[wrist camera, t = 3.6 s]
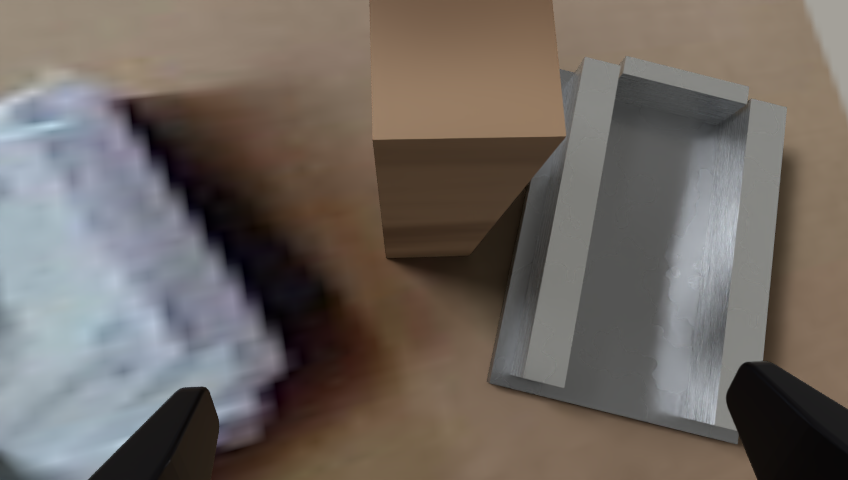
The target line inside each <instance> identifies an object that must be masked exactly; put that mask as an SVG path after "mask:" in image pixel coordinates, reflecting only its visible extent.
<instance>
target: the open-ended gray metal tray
mask: <svg viewBox="0 0 848 480" xmlns="http://www.w3.org/2000/svg"><path fill="white" fill-rule="evenodd" d="M559 70H560V80H561V90H562V99H563V109H564V118H565V128H566V137H565V139H564V140H563V141H562V142H561V144H560V145H559V146H558V147H557V148H556V150H555V151H554V152H553V153H552V155H551V156H550V157H549V158H548V159H547V161H546V162H545V163H544V164H543V166H542V167H541V168H540V169H539V171H538V172H537V173H536V174H535V175H534V177H533V178H532V179H531V180H530V182H529V183H528V185H527V190H526V195H525V200H524V205H523V209H522V214H521V219H520V224H519V229H518V233H517V238H516V243H515V248H514V253H513V258H512V262H511V267H510V272H509V277H508V282H507V286H506V291H505V296H504V301H503V306H502V311H501V315H500V320H499V325H498V330H497V335H496V339H495V344H494V349H493V354H492V359H491V364H490V368H489V373H488V378H487V382H488V383H491V384H495V385H499V386H503V387H508V388H512V389H516V390H520V391H524V392H528V393H532V394H536V395H540V396H544V397H548V398H552V399H556V400H560V401H564V402H568V403H572V404H576V405H580V406H584V407H588V408H592V409H596V410H600V411H604V412H609V413H613V414H617V415H621V416H625V417H629V418H633V419H637V420H641V421H645V422H649V423H653V424H657V425H661V426H665V427H669V428H673V429H677V430H681V431H685V432H689V433H693V434H697V435H701V436H705V437H710V438H714V439H718V440H722V441H726V442H730V443H734V444H738V436H739V434H738V432H737V429H736V427H735V424H734V422H733V420H732V417H731V415H730V412H729V410H728V407H727V403H726V393H727V390H728V388H729V386H730V384H731V382H732V381H733V379H734V377H735V375H736V373H737V371H738V369H739V367H740V366H741V365H742V364H743V363H745V362H752V361H763V354H764V344H765V333H766V323H767V312H768V302H769V291H770V281H771V270H772V260H773V249H774V238H775V228H776V217H777V207H778V196H779V186H780V175H781V165H782V154H783V144H784V133H785V123H786V112H787V107H783V106H779V105H775V104H771V103H767V102H763V101H759V100H755V99H750V100H748V91H749V87H748V86H744V85H740V84H736V83H732V82H728V81H724V80H720V79H716V78H712V77H708V76H704V75H700V74H696V73H692V72H688V71H684V70H680V69H676V68H672V67H668V66H664V65H660V64H656V63H652V62H648V61H644V60H640V59H636V58H632V57H628V56H626V57H625V58H624V59H623V61H622V62H621V63H620V64H619V65H616V64H612V63H608V62H604V61H600V60H596V59H592V58H588V57H585V58H584V59H583V61H582V62H581V64H580V65H579V67H578V68H577V70H576V71H575V73H573V72H569V71H565V70H561V69H559ZM747 100H748V101H747Z"/></svg>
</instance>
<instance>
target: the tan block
mask: <svg viewBox="0 0 848 480" xmlns="http://www.w3.org/2000/svg"><path fill="white" fill-rule="evenodd" d="M369 1H370V45H371V89H372V133H373V147H374V156H375V165H376V174H377V183H378V191H379V200H380V209H381V218H382V227H383V236H384V245H385V253H386V258H409V257H440V256H469V255H470V254H471V253H472V251H473V250H474V249H475V248H476V247H477V245H478V244H479V243H480V242H481V240H482V239H483V238H484V237H485V236H486V234H487V233H488V232H489V231H490V229H491V228H492V227H493V226H494V225H495V223H496V222H497V221H498V220H499V218H500V217H501V216H502V215H503V213H504V212H505V211H506V210H507V209H508V207H509V206H510V205H511V204H512V202H513V201H514V200H515V199H516V198H517V196H518V195H519V194H520V193H521V191H522V190H523V189H524V188H525V186H526V185H527V184H528V183H529V182H530V180H531V179H532V178H533V177H534V175H535V174H536V173H537V172H538V171H539V169H540V168H541V167H542V166H543V164H544V163H545V162H546V161H547V159H548V158H549V157H550V156H551V155H552V153H553V152H554V151H555V150H556V148H557V147H558V146H559V145H560V144H561V142H562V141H563V140H564V139H565V137H566V128H565V118H564V109H563V99H562V90H561V80H560V70H559V61H558V51H557V42H556V32H555V23H554V13H553V3H552V0H369Z"/></svg>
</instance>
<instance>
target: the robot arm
mask: <svg viewBox="0 0 848 480" xmlns="http://www.w3.org/2000/svg"><path fill="white" fill-rule="evenodd" d="M726 403H727V407H728V410H729V412H730V415H731V417H732V420H733V422H734V424H735V427H736V429H737V432H738V434H739V436H740V439H741V441H742V444H743V446H744V449H745V451H746V453H747V456H748V458H749V461H750V463H751V465H752V468H753V470H754V473H755V475H756V477H757V480H848V409H847V408H845V407H843V406H842V405H840V404H838V403H837V402H835V401H834V400H832V399H830V398H829V397H827V396H825V395H824V394H822V393H821V392H819V391H817V390H816V389H814V388H812V387H811V386H809V385H808V384H806V383H804V382H803V381H801V380H799V379H798V378H796V377H795V376H793V375H791V374H790V373H788V372H786V371H785V370H783V369H782V368H780V367H778V366H777V365H775V364H773V363H771V362H768V361H752V362H745V363H743V364H742V365H741V366H740V367H739V369H738V371H737V373H736V375H735V377H734V379H733V381H732V382H731V384H730V386H729V388H728V390H727V393H726ZM218 433H219V419H218V416H217V413H216V410H215V407H214V404H213V401H212V398H211V395H210V392H209V390H208V389H207V388H206V387H185V388H181V389H179V390H178V391H176V392H175V393H174V394H173V395H172V396H171V397H170V398H169V399H168V400H167V401H166V402H165V403H164V404H163V405H162V406H161V407H160V408H159V409H158V410H157V411H156V412H155V413H154V414H153V415H152V416H151V417H150V418H149V419H148V420H147V421H146V422H145V423H144V424H143V425H142V426H141V427H140V428H139V429H138V430H137V431H136V432H135V433H134V434H133V435H132V436H131V437H130V438H129V439H128V440H127V441H126V442H125V443H124V444H123V445H122V446H121V447H120V448H119V449H118V450H117V451H116V452H115V453H114V454H113V455H112V456H111V457H110V458H109V459H108V460H107V461H106V462H105V463H104V464H103V465H102V466H101V467H100V468H99V469H98V470H97V471H96V472H95V473H94V474H93V475H92V476H91V477H90V478H89V479H88V480H210V479H211V474H212V468H213V462H214V456H215V451H216V445H217V439H218Z"/></svg>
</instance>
